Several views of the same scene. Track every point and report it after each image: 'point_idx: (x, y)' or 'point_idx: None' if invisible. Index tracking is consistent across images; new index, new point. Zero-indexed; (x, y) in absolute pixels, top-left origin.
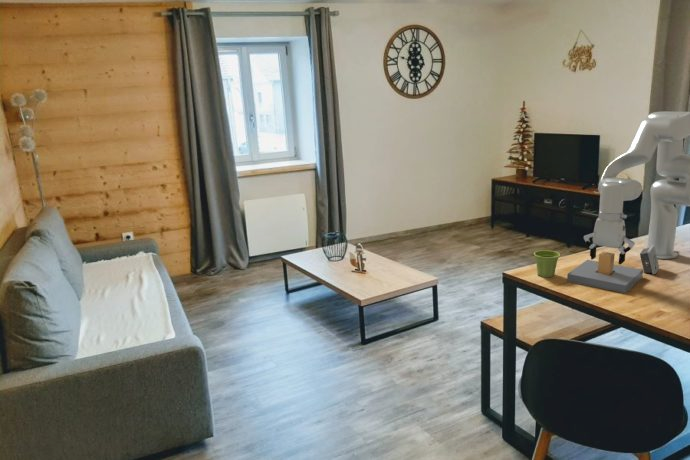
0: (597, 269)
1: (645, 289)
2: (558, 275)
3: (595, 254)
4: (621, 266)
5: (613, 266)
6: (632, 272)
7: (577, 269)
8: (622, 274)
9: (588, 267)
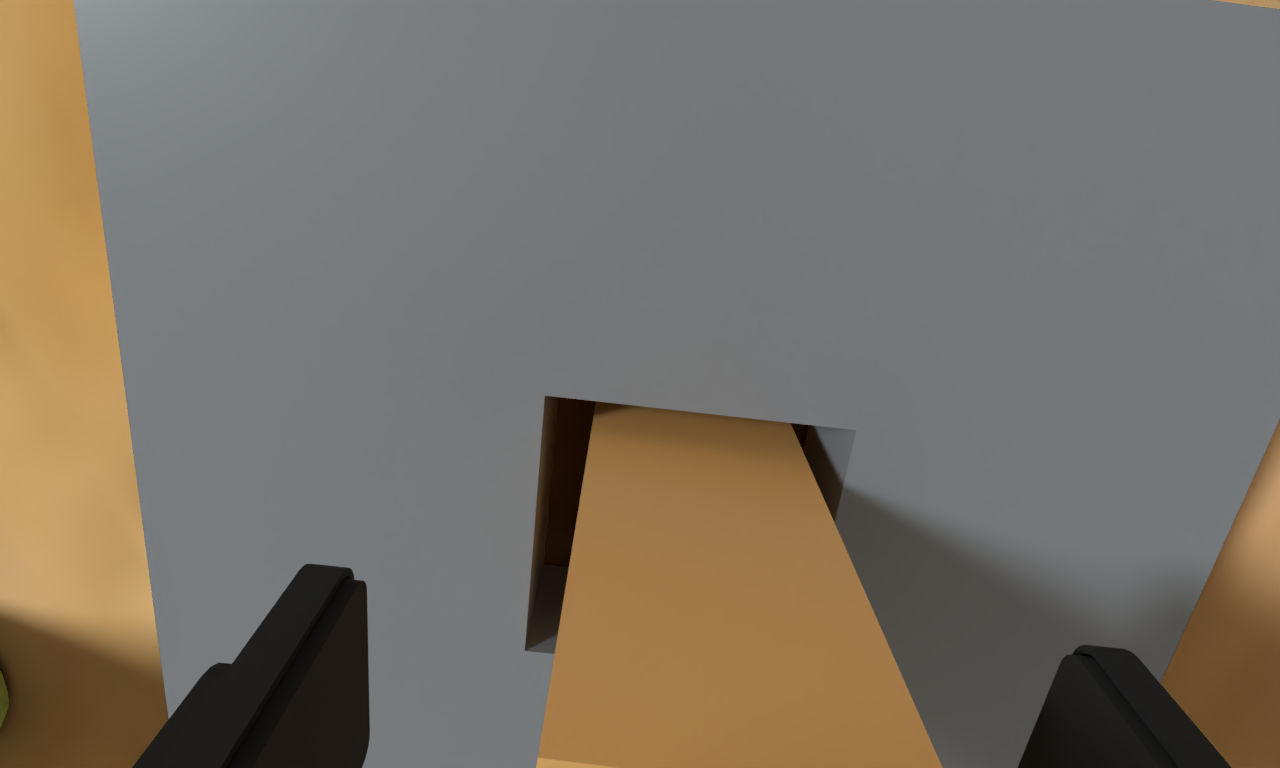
0: (521, 494)
1: (1250, 609)
2: (39, 614)
3: (327, 676)
4: (956, 24)
5: (835, 526)
6: (1181, 358)
7: (216, 645)
8: (988, 559)
9: (332, 453)
